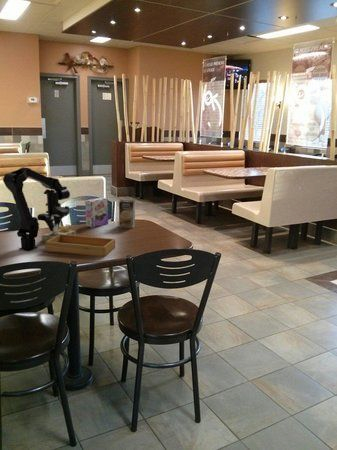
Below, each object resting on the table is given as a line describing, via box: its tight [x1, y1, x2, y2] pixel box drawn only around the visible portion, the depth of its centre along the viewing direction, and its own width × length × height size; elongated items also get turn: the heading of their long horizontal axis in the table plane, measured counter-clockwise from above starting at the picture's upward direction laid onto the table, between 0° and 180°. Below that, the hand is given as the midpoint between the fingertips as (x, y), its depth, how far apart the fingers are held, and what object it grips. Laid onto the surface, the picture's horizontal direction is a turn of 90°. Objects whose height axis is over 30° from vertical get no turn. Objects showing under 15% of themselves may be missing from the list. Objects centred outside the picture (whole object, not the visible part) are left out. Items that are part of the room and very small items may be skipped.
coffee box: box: [118, 199, 136, 229], centre depth 247 cm, size 9×6×16 cm
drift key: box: [59, 226, 71, 232], centre depth 226 cm, size 2×5×5 cm, turn 64°
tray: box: [44, 234, 116, 258], centre depth 203 cm, size 31×15×6 cm, turn 78°
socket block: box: [41, 228, 77, 242], centre depth 222 cm, size 16×10×3 cm, turn 154°
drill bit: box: [50, 222, 59, 236], centre depth 218 cm, size 4×4×9 cm
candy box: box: [84, 197, 109, 229], centre depth 250 cm, size 14×6×16 cm, turn 143°
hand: (54, 230), depth 218 cm, fingers closed on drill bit, 4 cm apart
